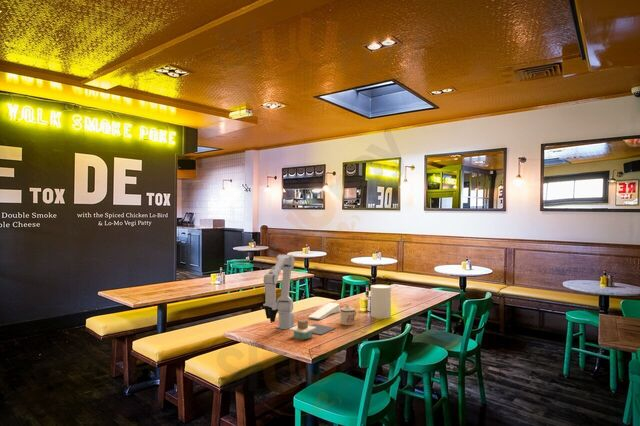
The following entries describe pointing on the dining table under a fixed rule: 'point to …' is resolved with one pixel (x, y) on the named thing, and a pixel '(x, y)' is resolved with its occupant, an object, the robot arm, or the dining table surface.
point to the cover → (302, 327)
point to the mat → (321, 329)
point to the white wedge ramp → (325, 311)
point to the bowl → (302, 335)
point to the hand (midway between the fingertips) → (270, 320)
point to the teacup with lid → (347, 315)
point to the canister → (380, 301)
